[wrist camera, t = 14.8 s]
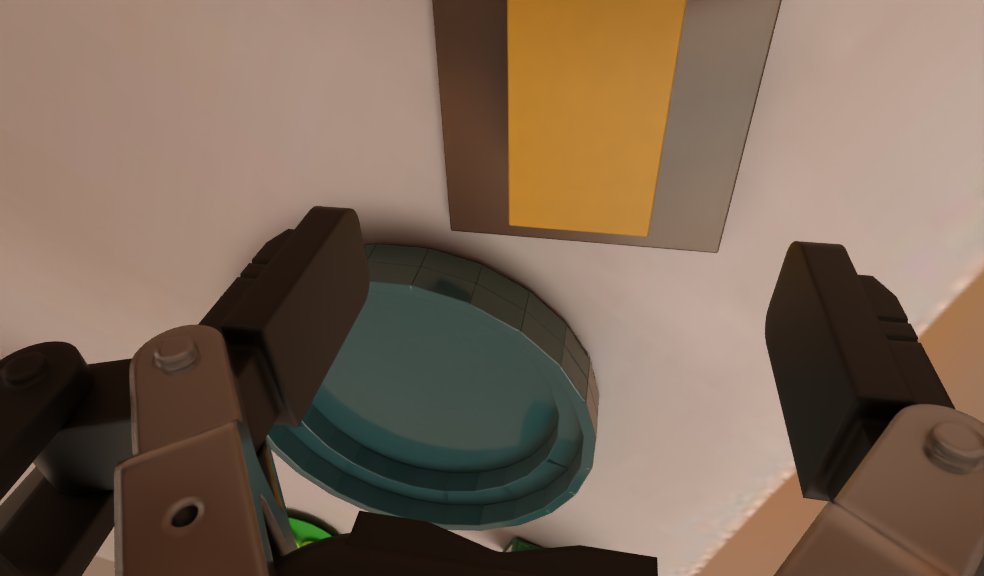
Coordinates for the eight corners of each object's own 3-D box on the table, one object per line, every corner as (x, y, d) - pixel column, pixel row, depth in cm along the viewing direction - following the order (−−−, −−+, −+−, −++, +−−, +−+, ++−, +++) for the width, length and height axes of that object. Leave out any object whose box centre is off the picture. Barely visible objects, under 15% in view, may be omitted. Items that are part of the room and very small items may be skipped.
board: (424, -184, 18) (417, -184, 17) (824, -197, 16) (832, -197, 15) (455, 221, 26) (450, 231, 26) (716, 242, 25) (718, 253, 24)
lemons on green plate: (265, 552, 51) (248, 585, 49) (246, 500, 46) (226, 534, 44) (355, 572, 50) (342, 607, 48) (346, 522, 45) (331, 558, 43)
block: (528, -47, 19) (506, -19, 16) (681, -46, 18) (689, -16, 15) (525, 171, 23) (508, 226, 20) (647, 179, 23) (647, 237, 20)
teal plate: (215, 226, 29) (178, 261, 27) (615, 261, 26) (613, 305, 24) (302, 463, 41) (282, 502, 39) (584, 508, 38) (581, 553, 36)
